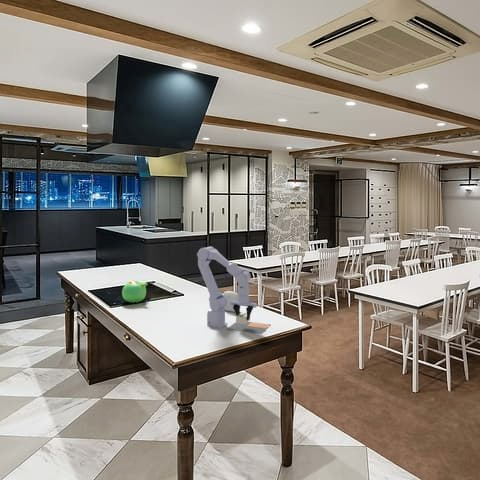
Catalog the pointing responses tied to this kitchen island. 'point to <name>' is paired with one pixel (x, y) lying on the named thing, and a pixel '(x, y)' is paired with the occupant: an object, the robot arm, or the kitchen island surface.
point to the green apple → (134, 291)
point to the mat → (250, 327)
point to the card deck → (242, 318)
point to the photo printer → (230, 299)
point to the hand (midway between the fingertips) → (243, 319)
